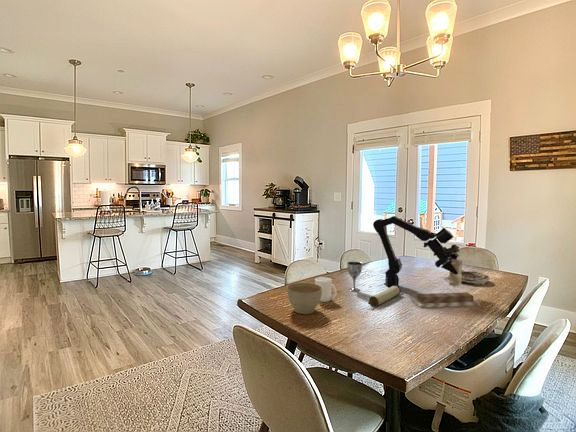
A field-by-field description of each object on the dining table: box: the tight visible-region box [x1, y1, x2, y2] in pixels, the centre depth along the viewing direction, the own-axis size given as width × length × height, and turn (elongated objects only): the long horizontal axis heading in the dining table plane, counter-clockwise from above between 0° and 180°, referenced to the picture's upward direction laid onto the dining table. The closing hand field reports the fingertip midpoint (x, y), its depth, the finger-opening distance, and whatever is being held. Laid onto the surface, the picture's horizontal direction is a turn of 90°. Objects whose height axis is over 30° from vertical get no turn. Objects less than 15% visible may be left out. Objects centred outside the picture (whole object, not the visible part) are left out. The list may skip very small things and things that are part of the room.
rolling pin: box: [367, 286, 402, 308], centre depth 170 cm, size 32×6×5 cm, turn 136°
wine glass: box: [346, 261, 363, 293], centre depth 185 cm, size 8×8×15 cm
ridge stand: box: [410, 292, 481, 308], centre depth 165 cm, size 30×9×4 cm, turn 96°
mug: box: [314, 276, 338, 303], centre depth 169 cm, size 12×8×10 cm
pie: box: [444, 269, 490, 286], centre depth 205 cm, size 28×27×5 cm
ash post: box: [448, 259, 463, 288], centre depth 175 cm, size 4×4×13 cm
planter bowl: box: [286, 282, 322, 315], centre depth 155 cm, size 16×16×11 cm
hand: (458, 273), depth 174 cm, fingers closed on ash post, 4 cm apart
